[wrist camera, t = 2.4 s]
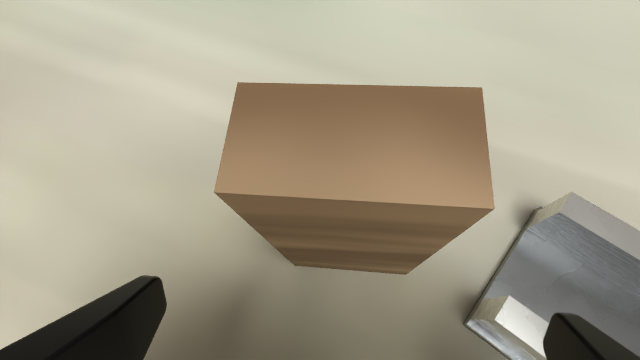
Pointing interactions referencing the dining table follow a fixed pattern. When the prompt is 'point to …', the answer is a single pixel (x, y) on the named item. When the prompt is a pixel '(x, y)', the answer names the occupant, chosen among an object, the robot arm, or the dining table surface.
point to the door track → (563, 280)
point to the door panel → (357, 170)
